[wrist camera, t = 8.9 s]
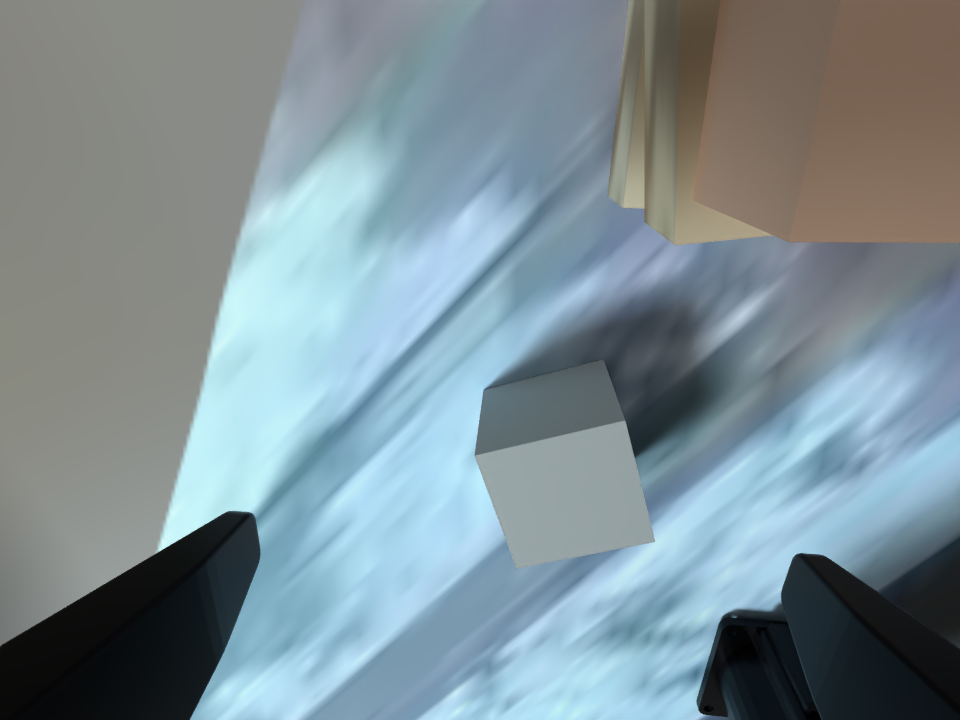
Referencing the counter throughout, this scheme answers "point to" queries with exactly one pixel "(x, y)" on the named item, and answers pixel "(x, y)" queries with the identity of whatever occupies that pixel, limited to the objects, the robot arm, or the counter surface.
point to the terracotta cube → (835, 120)
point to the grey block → (561, 466)
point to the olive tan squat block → (630, 116)
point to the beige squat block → (680, 121)
